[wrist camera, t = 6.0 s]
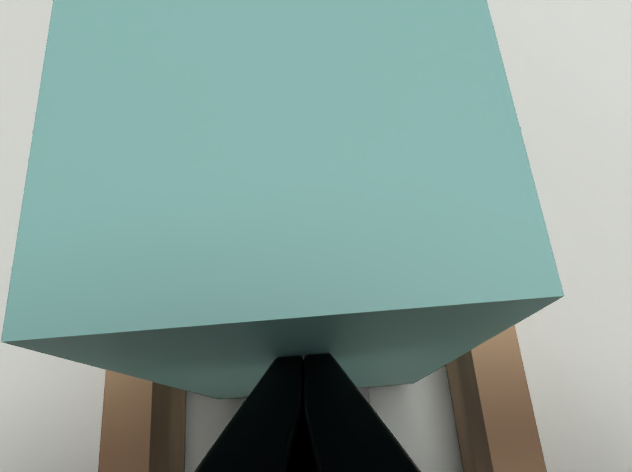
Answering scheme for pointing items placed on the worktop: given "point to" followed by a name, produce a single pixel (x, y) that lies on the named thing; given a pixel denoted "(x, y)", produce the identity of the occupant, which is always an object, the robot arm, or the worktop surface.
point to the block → (274, 191)
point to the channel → (465, 386)
